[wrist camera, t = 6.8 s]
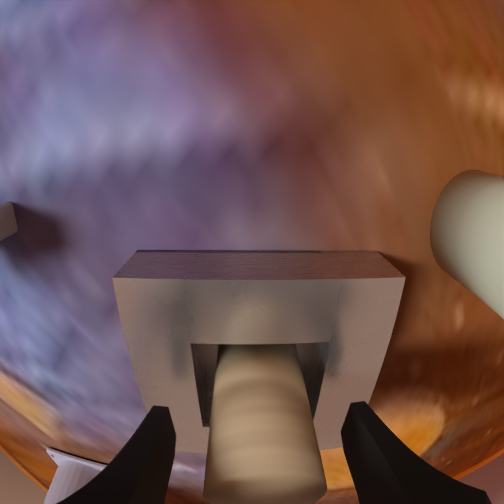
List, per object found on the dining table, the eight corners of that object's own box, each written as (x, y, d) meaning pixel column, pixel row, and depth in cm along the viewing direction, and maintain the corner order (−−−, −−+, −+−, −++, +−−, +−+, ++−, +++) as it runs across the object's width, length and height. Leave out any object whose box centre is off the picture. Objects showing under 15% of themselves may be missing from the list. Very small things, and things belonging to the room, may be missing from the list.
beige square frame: (339, 410, 17) (350, 445, 14) (168, 413, 17) (160, 449, 14) (376, 250, 13) (405, 277, 11) (137, 250, 13) (112, 277, 10)
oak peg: (292, 382, 16) (314, 510, 8) (219, 381, 15) (208, 513, 8) (300, 322, 14) (340, 466, 7) (216, 321, 14) (196, 471, 7)
